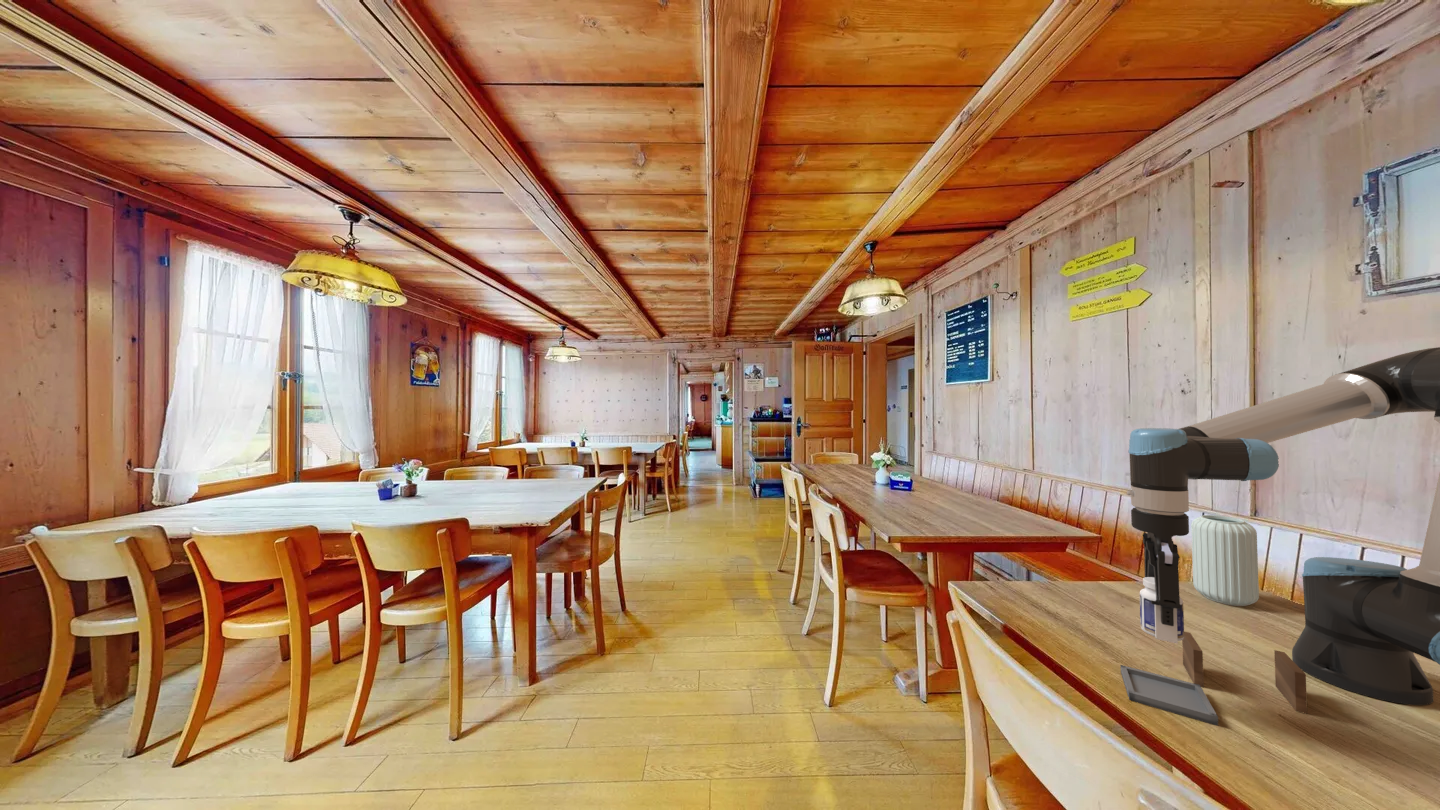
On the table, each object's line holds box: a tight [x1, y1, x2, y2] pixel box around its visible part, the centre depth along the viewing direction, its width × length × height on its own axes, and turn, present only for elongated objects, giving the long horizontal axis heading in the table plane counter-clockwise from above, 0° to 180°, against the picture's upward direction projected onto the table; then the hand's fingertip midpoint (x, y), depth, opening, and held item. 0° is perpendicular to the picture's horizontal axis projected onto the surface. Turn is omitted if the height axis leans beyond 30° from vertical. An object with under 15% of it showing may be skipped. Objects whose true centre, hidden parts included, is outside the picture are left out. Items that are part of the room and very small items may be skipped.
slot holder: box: [1181, 631, 1308, 714], centre depth 81 cm, size 13×8×7 cm, turn 53°
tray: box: [1120, 664, 1219, 727], centre depth 79 cm, size 11×10×2 cm
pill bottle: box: [1139, 576, 1185, 642], centre depth 79 cm, size 6×6×10 cm
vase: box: [1190, 514, 1260, 607], centre depth 115 cm, size 12×12×22 cm
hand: (1162, 632), depth 79 cm, fingers closed on pill bottle, 6 cm apart
